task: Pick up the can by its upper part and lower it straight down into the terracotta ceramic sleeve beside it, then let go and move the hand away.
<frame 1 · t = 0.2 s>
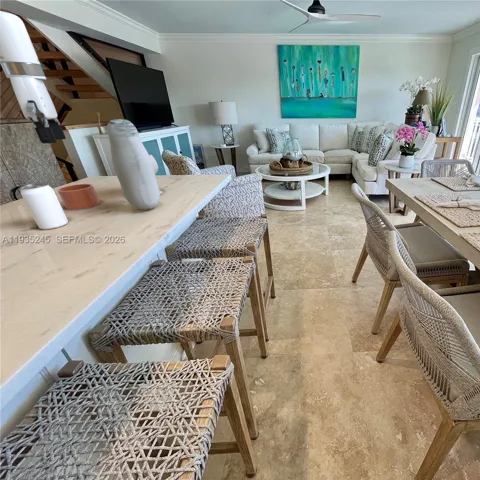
hand: (54, 141, 77), 22 cm above the counter, tool pointing down, fingers open, 9 cm apart
can: (54, 226, 78), on the counter
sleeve: (84, 207, 92), on the counter
chalice: (145, 195, 104), on the counter
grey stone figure: (147, 209, 91), on the counter
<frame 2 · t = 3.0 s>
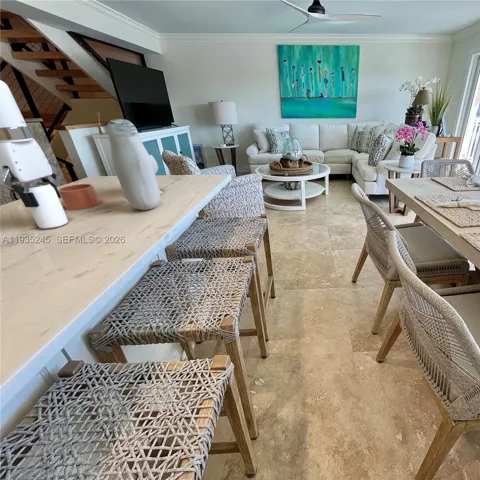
hand: (44, 201, 75), 7 cm above the counter, tool pointing down, fingers closed on can, 6 cm apart
can: (54, 225, 78), on the counter, touching gripper
everything else where it was.
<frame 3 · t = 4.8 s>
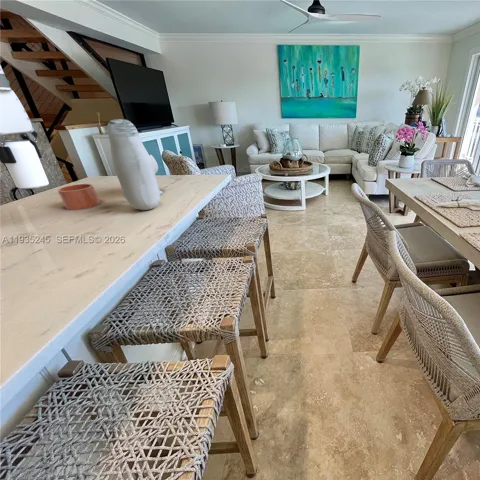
hand: (22, 159, 70), 19 cm above the counter, tool pointing down, fingers closed on can, 6 cm apart
can: (34, 187, 73), point 11 cm above the counter, touching gripper
everything else where it was.
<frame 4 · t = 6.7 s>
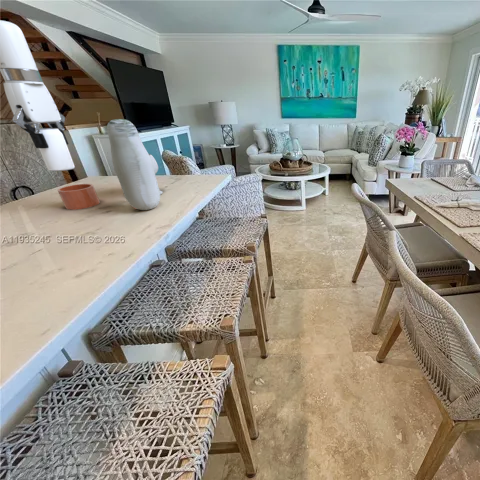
hand: (52, 145, 81), 21 cm above the counter, tool pointing down, fingers closed on can, 6 cm apart
can: (62, 170, 84), point 13 cm above the counter, touching gripper
everything else where it was.
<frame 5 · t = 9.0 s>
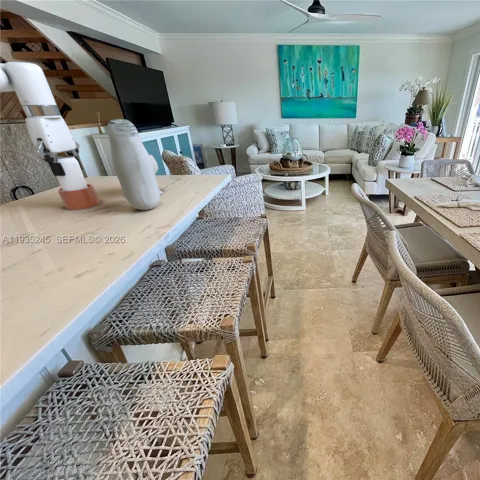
hand: (69, 172, 86), 12 cm above the counter, tool pointing down, fingers closed on can, 6 cm apart
can: (77, 194, 89), point 5 cm above the counter, touching gripper
everything else where it was.
when the fingers open (8 cm above the counter, at t = 10.7 s): can stays where it is, resting on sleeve.
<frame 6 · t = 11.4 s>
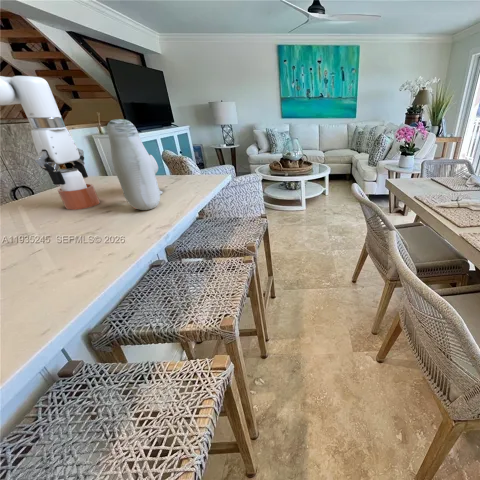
hand: (71, 180, 87), 9 cm above the counter, tool pointing down, fingers open, 9 cm apart
can: (82, 205, 91), point 1 cm above the counter, touching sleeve
everything else where it was.
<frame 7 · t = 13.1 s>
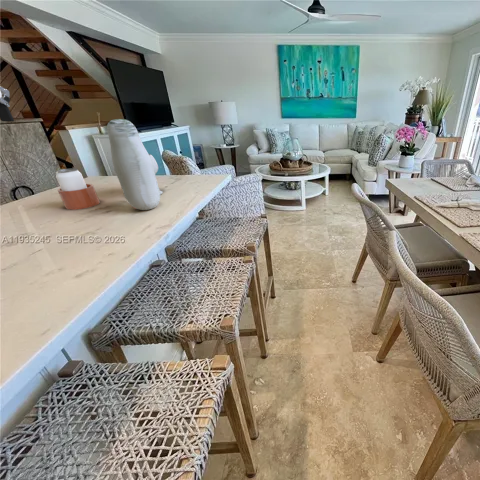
nothing on the counter moved.
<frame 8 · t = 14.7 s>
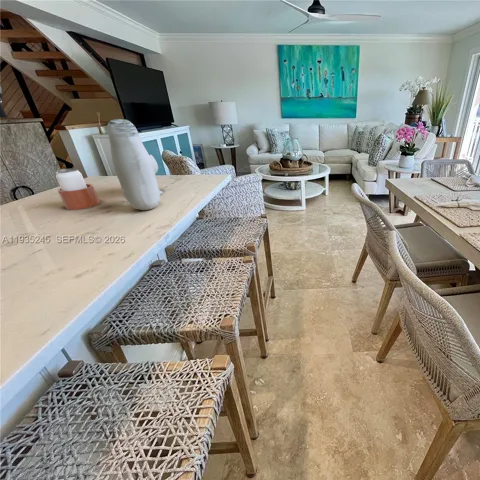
nothing on the counter moved.
at the end: can 0.4 cm off-centre in the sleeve, point 0.6 cm above the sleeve's base; can tilted 0°; the gripper is holding nothing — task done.
